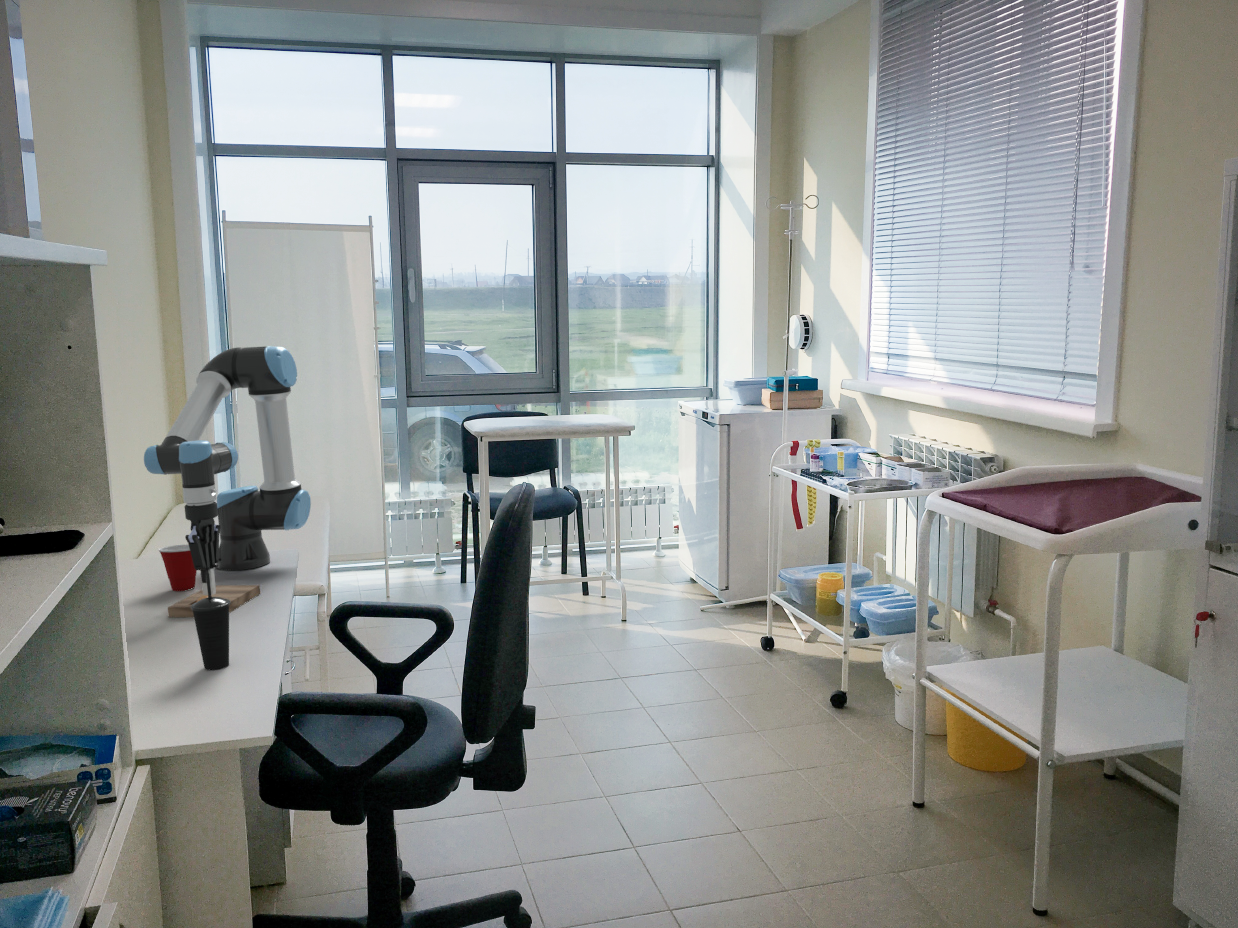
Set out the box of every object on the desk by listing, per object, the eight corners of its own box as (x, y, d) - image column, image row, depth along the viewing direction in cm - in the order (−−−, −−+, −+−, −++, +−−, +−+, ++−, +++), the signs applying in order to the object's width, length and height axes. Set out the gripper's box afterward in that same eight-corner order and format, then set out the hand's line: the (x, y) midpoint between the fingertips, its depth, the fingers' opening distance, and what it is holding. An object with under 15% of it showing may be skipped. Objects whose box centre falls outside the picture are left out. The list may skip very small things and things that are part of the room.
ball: (198, 614, 248) (203, 600, 250) (213, 614, 247) (218, 600, 250) (191, 606, 244) (196, 592, 247) (206, 606, 244) (211, 592, 247)
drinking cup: (212, 675, 201) (202, 580, 198) (189, 669, 205) (179, 576, 202) (244, 663, 208) (235, 571, 205) (221, 657, 212) (212, 567, 209)
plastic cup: (212, 582, 275) (208, 541, 273) (192, 593, 264) (187, 550, 262) (175, 583, 276) (171, 541, 274) (154, 594, 265) (149, 550, 264)
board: (210, 594, 263) (209, 585, 263) (260, 594, 261) (259, 585, 261) (168, 617, 243) (167, 607, 243) (222, 617, 242) (221, 607, 241)
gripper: (200, 507, 239) (210, 601, 243) (227, 497, 252) (236, 586, 255) (171, 507, 240) (181, 601, 243) (200, 498, 253) (209, 587, 256)
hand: (209, 593), depth 249 cm, fingers closed
